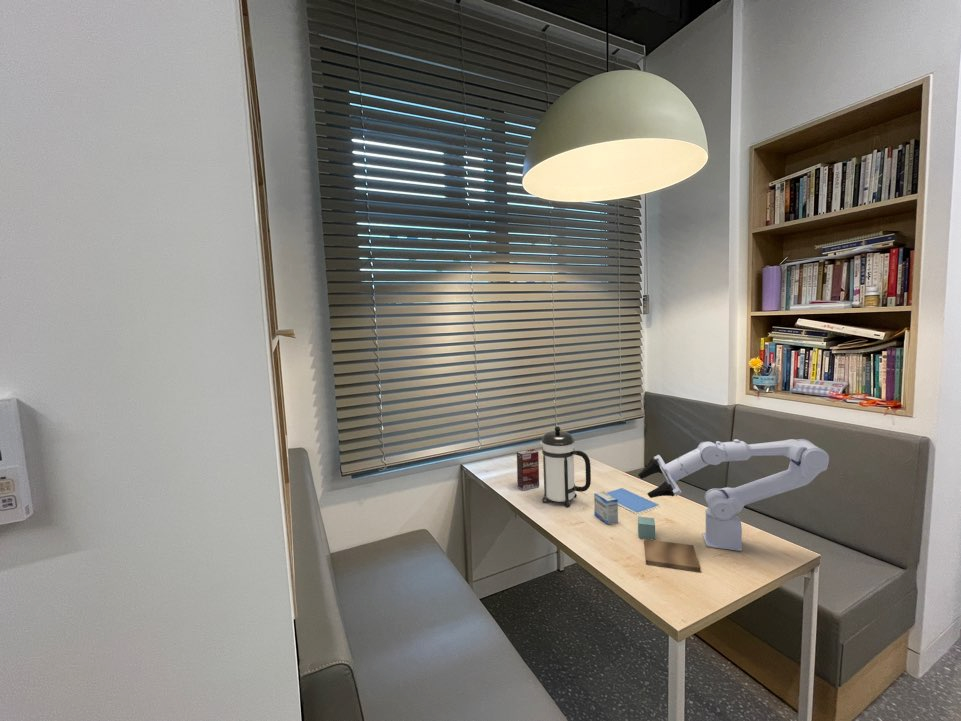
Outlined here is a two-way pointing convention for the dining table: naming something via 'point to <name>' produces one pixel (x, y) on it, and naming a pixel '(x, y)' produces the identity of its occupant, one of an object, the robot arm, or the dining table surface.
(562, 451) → the coffee press
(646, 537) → the teal cube
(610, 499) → the medicine box
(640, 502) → the tablet computer
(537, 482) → the supplement box
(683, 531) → the dining table surface
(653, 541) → the walnut board
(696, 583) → the dining table surface
